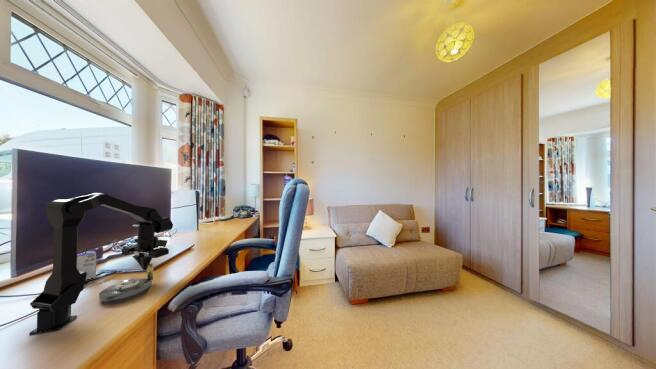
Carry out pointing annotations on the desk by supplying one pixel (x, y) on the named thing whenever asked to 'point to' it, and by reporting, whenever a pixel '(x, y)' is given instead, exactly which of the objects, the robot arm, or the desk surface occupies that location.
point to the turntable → (144, 285)
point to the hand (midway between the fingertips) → (145, 270)
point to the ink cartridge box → (87, 263)
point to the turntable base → (125, 299)
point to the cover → (126, 284)
